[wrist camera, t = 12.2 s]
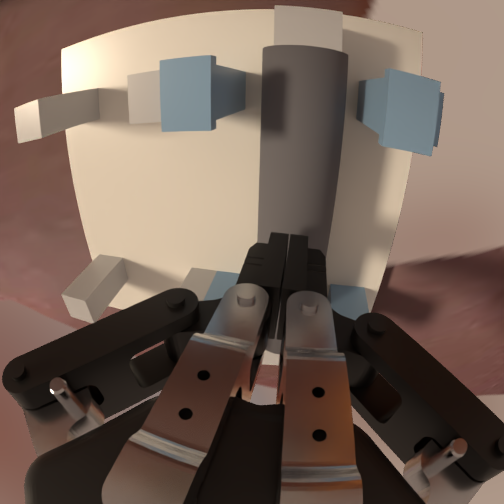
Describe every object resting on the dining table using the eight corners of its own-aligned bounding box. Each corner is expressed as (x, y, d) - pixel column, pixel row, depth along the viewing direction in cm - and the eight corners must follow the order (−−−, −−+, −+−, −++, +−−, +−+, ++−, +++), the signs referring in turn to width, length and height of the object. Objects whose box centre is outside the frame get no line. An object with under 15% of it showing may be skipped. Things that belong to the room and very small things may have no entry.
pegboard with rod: (69, 49, 13) (-5, 55, 8) (417, 34, 10) (475, 13, 5) (111, 300, 24) (74, 351, 19) (357, 337, 21) (362, 408, 16)
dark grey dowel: (265, 21, 11) (260, 1, 8) (340, 27, 10) (358, 11, 7) (255, 329, 21) (251, 369, 18) (305, 332, 21) (306, 372, 18)
